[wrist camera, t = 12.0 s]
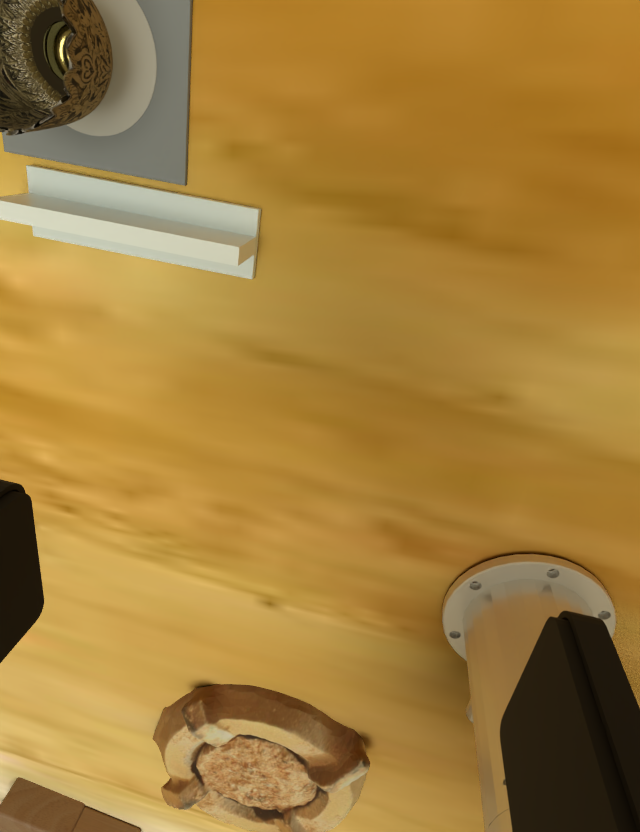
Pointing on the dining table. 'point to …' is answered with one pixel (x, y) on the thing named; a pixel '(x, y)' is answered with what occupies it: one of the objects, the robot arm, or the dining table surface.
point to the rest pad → (132, 98)
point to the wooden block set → (52, 812)
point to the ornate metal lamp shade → (51, 63)
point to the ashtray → (260, 759)
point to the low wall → (138, 221)
